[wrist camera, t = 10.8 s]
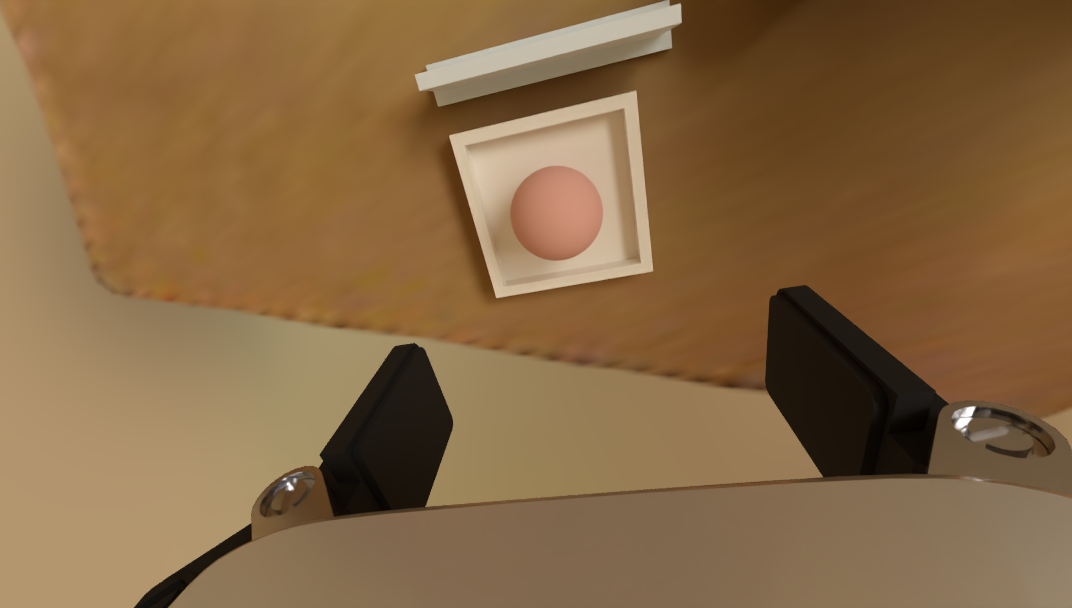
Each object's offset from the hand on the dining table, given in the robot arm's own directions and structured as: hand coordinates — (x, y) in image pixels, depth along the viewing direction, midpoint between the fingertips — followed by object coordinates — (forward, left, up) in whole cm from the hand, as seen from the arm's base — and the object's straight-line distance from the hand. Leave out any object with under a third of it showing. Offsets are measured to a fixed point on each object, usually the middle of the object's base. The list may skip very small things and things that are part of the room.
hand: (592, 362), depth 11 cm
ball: (+1, 0, -20) cm, 20 cm away
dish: (+1, 0, -21) cm, 21 cm away
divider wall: (0, -9, -21) cm, 22 cm away
